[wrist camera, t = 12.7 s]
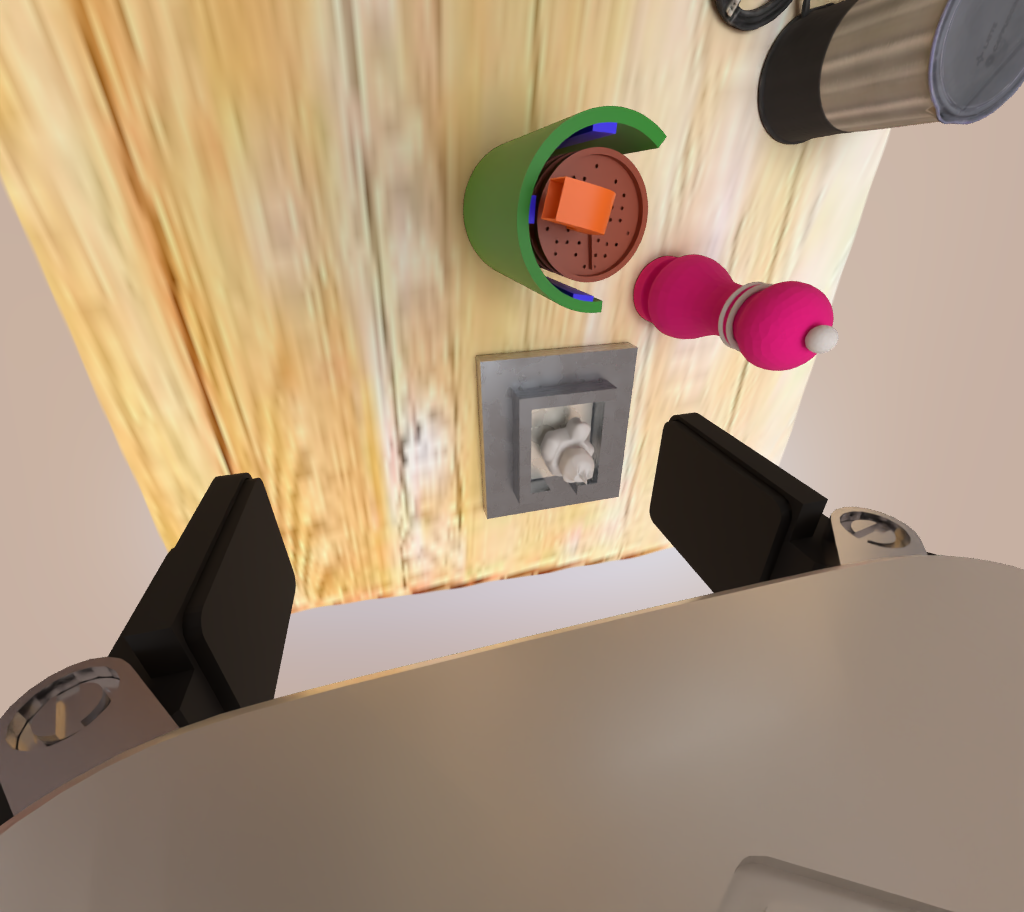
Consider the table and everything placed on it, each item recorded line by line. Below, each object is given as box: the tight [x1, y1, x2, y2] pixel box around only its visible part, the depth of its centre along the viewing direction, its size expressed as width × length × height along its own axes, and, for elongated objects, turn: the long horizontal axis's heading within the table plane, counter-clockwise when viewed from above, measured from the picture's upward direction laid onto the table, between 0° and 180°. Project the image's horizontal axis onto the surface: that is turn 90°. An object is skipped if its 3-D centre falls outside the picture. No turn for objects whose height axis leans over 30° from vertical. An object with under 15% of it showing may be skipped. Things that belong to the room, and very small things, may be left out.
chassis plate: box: [476, 342, 638, 519], centre depth 48 cm, size 18×16×4 cm
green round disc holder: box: [463, 106, 667, 313], centre depth 30 cm, size 10×9×20 cm
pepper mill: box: [634, 255, 838, 371], centre depth 37 cm, size 7×7×20 cm
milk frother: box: [716, 0, 1024, 144], centre depth 31 cm, size 14×16×15 cm
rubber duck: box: [541, 417, 594, 485], centre depth 44 cm, size 5×7×8 cm
